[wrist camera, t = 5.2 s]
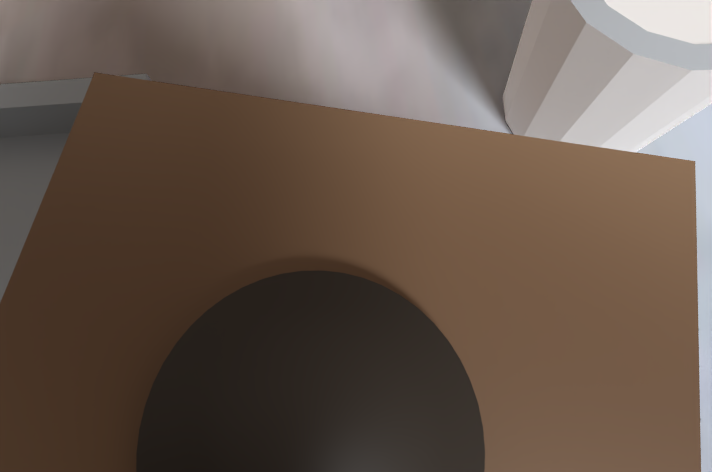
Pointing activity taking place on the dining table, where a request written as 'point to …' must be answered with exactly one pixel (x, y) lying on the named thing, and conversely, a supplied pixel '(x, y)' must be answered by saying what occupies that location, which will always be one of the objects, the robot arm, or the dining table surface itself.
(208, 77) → the dining table surface
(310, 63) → the dining table surface
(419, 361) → the walnut block
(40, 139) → the grey tray
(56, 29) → the dining table surface
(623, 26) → the white cup
